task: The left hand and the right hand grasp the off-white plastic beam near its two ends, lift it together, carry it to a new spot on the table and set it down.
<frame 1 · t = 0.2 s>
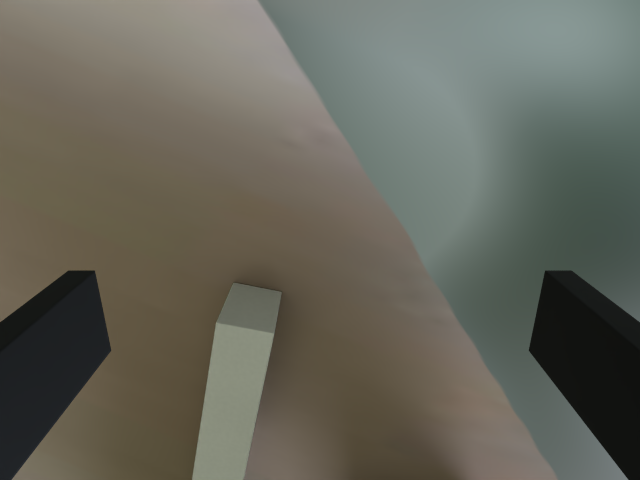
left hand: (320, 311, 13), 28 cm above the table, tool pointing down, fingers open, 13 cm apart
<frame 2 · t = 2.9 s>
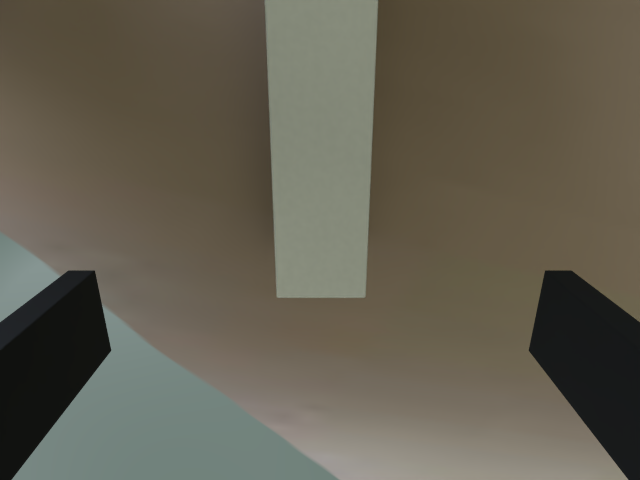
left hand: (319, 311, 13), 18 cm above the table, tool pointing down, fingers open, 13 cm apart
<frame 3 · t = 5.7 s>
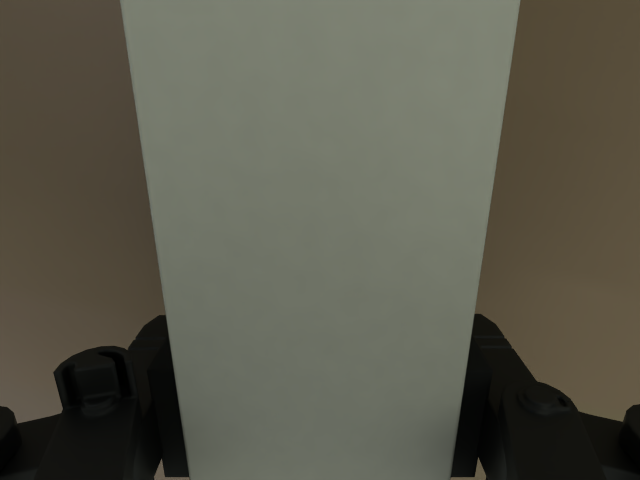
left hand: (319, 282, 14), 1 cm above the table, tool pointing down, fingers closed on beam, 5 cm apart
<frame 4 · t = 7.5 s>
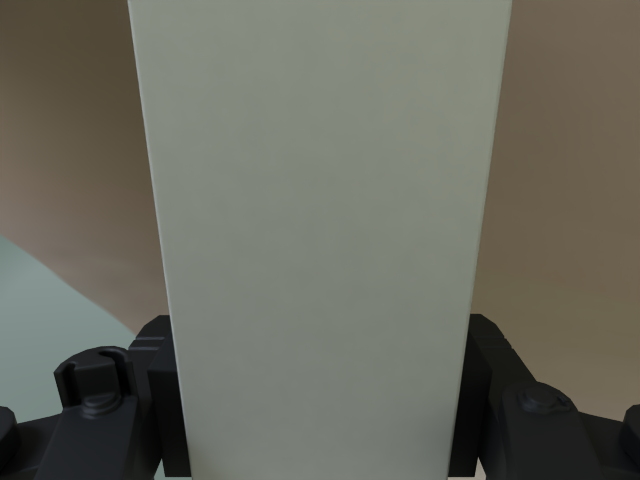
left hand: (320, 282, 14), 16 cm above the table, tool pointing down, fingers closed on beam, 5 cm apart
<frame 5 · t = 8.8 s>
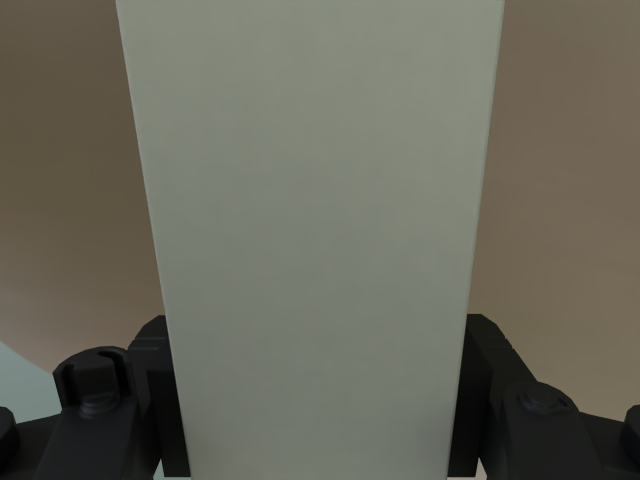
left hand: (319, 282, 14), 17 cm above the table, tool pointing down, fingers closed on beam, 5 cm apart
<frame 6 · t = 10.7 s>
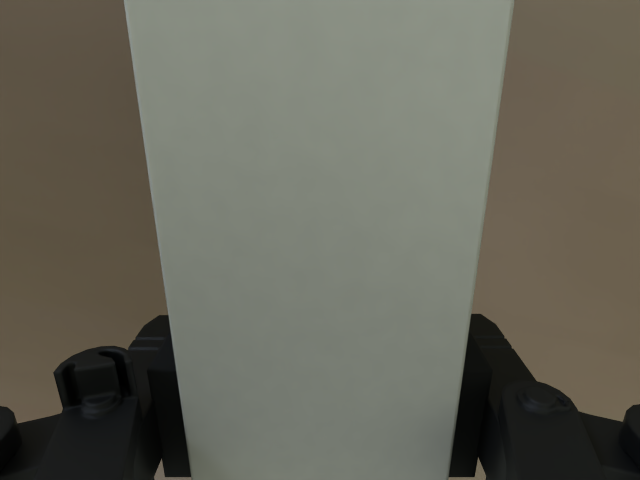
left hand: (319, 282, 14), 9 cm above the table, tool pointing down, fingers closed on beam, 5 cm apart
when the left hand's fingers open (2 cm above the table, at t = 12.0 s): beam drops 2 cm, on the table.
when the right hand's fingers open (5 cm above the table, at t = 12.2 s): beam stays where it is, on the table.
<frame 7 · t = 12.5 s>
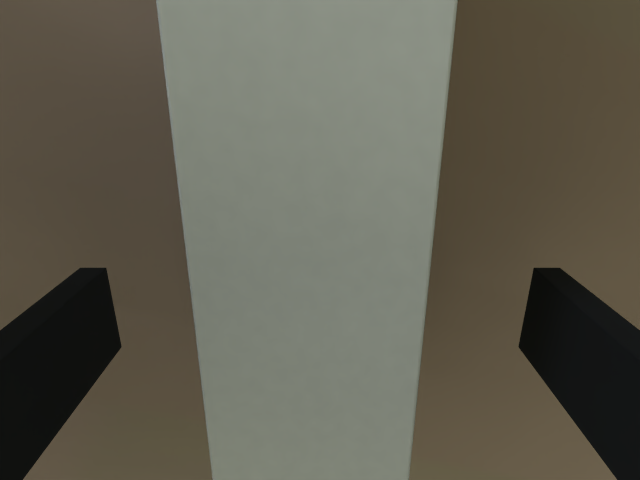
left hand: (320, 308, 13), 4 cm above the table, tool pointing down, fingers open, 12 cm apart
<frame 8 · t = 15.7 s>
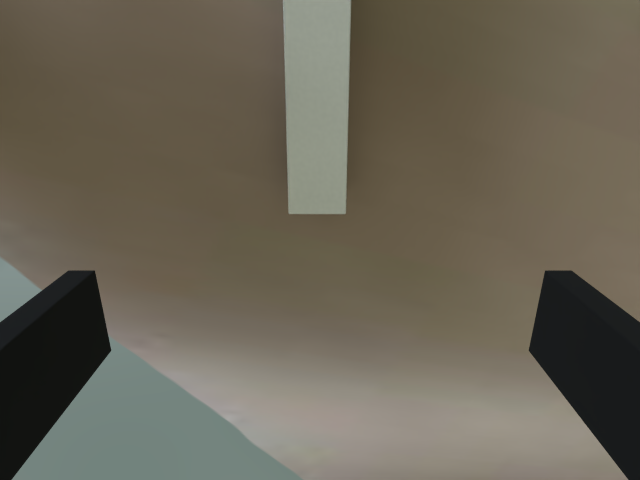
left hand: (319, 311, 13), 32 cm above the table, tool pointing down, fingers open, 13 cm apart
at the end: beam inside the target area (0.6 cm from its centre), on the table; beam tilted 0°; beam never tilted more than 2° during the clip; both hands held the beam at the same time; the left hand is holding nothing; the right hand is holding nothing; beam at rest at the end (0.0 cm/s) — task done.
